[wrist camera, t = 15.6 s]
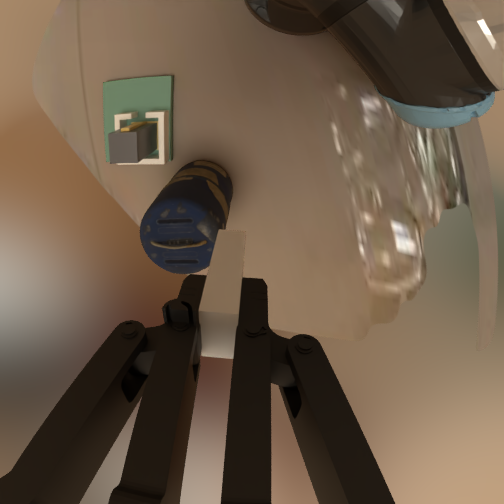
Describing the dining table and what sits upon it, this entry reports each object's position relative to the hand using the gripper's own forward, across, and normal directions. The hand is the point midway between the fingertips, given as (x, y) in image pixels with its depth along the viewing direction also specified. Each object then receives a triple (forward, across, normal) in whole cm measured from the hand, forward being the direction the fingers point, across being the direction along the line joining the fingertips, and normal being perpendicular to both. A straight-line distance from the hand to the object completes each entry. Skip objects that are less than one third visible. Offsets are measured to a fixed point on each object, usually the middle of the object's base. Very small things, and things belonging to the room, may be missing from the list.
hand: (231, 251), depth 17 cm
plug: (+28, -16, +1) cm, 32 cm away
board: (+29, -17, +4) cm, 34 cm away
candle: (+30, -7, -7) cm, 31 cm away
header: (+28, -16, +2) cm, 32 cm away
